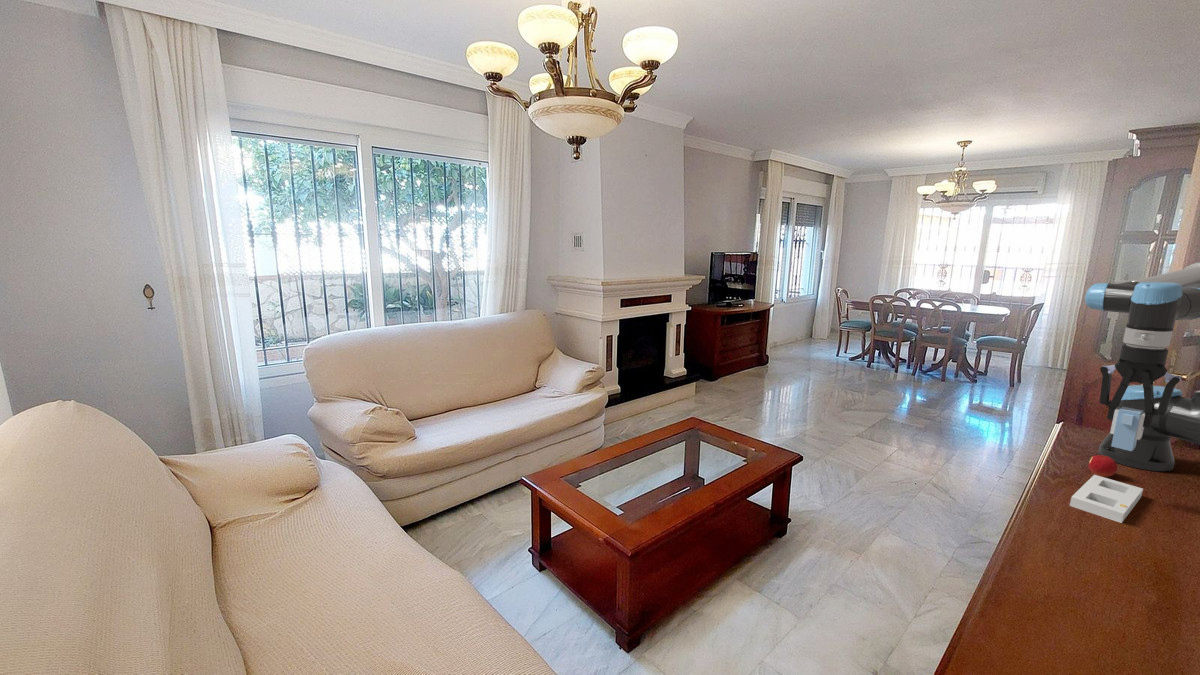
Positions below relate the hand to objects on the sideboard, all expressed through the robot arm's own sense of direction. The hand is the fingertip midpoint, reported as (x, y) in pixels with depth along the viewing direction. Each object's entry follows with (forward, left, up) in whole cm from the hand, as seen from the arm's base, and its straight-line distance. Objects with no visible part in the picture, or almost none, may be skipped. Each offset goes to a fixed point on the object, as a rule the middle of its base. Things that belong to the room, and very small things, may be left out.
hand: (1125, 435), depth 120 cm
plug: (0, 0, -3) cm, 3 cm away
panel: (+6, 0, -17) cm, 18 cm away
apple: (-12, -5, -18) cm, 22 cm away
